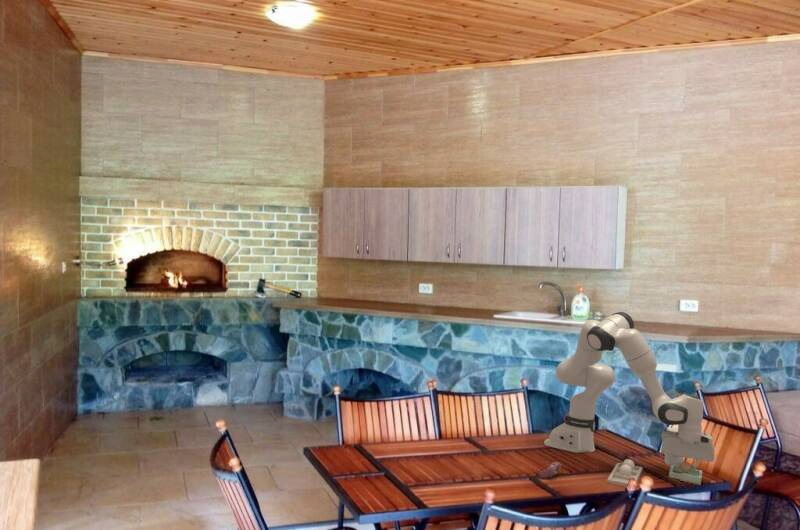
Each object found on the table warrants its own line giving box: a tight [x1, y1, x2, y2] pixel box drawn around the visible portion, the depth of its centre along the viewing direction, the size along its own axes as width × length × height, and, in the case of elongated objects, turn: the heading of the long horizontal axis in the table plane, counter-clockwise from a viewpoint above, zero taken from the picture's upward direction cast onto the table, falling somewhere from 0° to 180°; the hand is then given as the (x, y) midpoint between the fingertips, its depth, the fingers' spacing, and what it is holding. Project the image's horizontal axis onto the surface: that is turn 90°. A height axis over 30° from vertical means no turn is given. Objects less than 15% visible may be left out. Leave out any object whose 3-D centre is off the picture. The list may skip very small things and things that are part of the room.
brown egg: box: [680, 460, 693, 473], centre depth 305 cm, size 5×5×5 cm
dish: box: [668, 465, 703, 486], centre depth 305 cm, size 12×12×3 cm
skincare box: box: [663, 426, 684, 467], centre depth 324 cm, size 8×7×16 cm
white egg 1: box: [622, 458, 636, 470], centre depth 306 cm, size 5×5×5 cm
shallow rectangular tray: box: [606, 462, 643, 488], centre depth 298 cm, size 10×28×2 cm, turn 156°
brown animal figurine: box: [539, 461, 562, 479], centre depth 292 cm, size 10×5×7 cm, turn 149°
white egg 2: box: [620, 464, 632, 476], centre depth 298 cm, size 5×5×5 cm
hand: (686, 468), depth 305 cm, fingers closed on brown egg, 4 cm apart
